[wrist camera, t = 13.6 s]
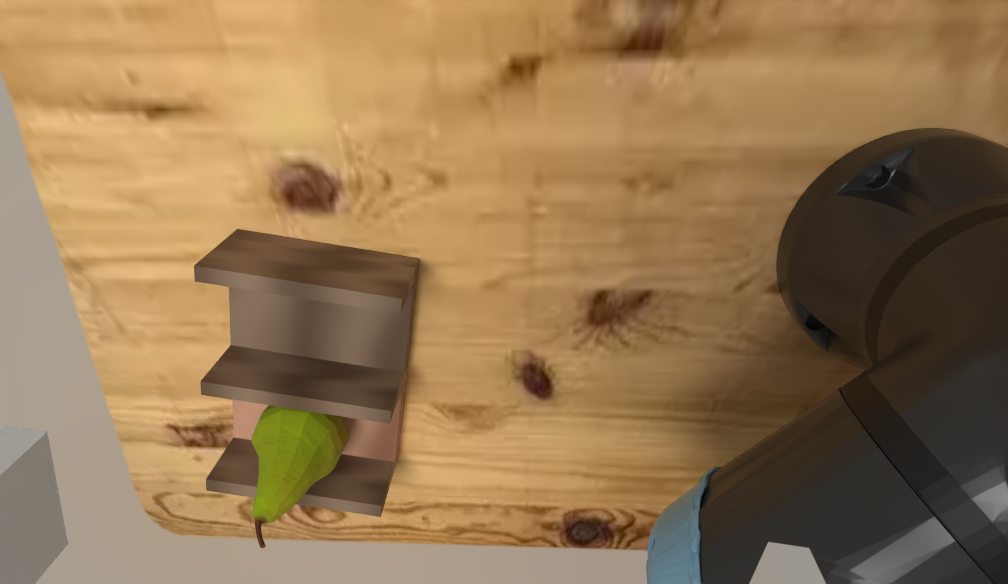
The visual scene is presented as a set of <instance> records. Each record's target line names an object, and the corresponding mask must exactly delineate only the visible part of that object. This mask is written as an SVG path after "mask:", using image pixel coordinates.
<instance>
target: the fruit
mask: <svg viewBox="0 0 1008 584" xmlns="http://www.w3.org/2000/svg"><path fill="white" fill-rule="evenodd" d="M348 440H349V433H348V430H347V428H346V425H345V422H344V420H343V417H342V416H336V415H329V414H323V413H317V412H310V411H304V410H297V409H291V408H284V407H278V406H271V405H268V406H267V407H266V409H265V410H264V411H263V412H262V414H261V416H260V419H259V421H258V423H257V426H256V428H255V430H254V433H253V436H252V443H253V446H254V448H255V450H256V452H257V455H258V457H259V476H258V483H257V489H256V496H255V500H254V505H253V515H254V520H255V528H256V534H257V538H258V542H259V545H260V547H261V548H264V547H265V543H264V541H263V538H262V534H261V524H264V523H271V522H273V521H275V520H277V519H278V518H279V517H280V516H282V515H283V514H284V513H286V512H287V511H288V510H290V509H291V508H292V507H293V506H294V505H295V504H296V503H297V502H298V501H299V500H300V499H301V498H302V496H303V495H304V494H305V493H306V492H307V491H308V489H309V488H310V487H311V486H312V485H313V484H314V483H315V482H316V481H318V480H320V479H321V478H323V477H325V476H326V475H328V474H329V473H330V472H331V471H332V470H333V469H334V468H335V466H336V464H337V462H338V460H339V458H340V456H341V454H342V452H343V450H344V448H345V446H346V444H347V442H348Z"/></svg>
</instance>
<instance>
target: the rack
mask: <svg viewBox="0 0 1008 584" xmlns="http://www.w3.org/2000/svg"><path fill="white" fill-rule="evenodd" d="M418 264H419V259H418V258H412V257H406V256H400V255H394V254H387V253H381V252H375V251H369V250H363V249H356V248H350V247H344V246H338V245H332V244H326V243H319V242H313V241H307V240H301V239H295V238H288V237H282V236H276V235H270V234H264V233H258V232H251V231H245V230H239V229H237V230H236V231H235V232H233V233H232V234H231V235H230V236H229V237H227V238H226V239H225V240H224V241H223V242H222V243H220V244H219V245H218V246H217V247H216V248H214V249H213V250H212V251H211V252H210V253H208V254H207V255H206V256H205V257H204V258H203V259H201V260H200V261H199V262H198V263H197V264H195V265H194V273H195V281H196V282H203V283H209V284H215V285H222V286H228V287H229V300H230V333H231V346H230V347H229V348H228V349H227V350H226V352H225V353H224V354H223V355H222V356H221V358H220V359H219V360H218V361H217V362H216V364H215V365H214V366H213V367H212V368H211V370H210V371H209V372H208V373H207V374H206V376H205V377H204V378H203V379H202V380H201V395H207V396H213V397H220V398H226V399H233V430H234V438H233V439H232V441H231V442H230V444H229V445H228V447H227V448H226V450H225V451H224V453H223V454H222V456H221V457H220V459H219V460H218V462H217V463H216V465H215V466H214V468H213V470H212V471H211V473H210V474H209V476H208V477H207V479H206V487H207V491H214V492H220V493H227V494H233V495H240V496H247V497H253V498H255V496H256V489H257V483H258V476H259V457H258V455H257V452H256V450H255V448H254V446H253V443H252V436H253V433H254V430H255V428H256V426H257V423H258V421H259V419H260V416H261V414H262V412H263V411H264V410H265V409H266V407H267V406H268V405H271V406H278V407H284V408H291V409H297V410H304V411H310V412H317V413H323V414H329V415H336V416H342V417H343V420H344V422H345V425H346V428H347V430H348V433H349V440H348V442H347V444H346V446H345V448H344V450H343V452H342V454H341V456H340V458H339V460H338V462H337V464H336V466H335V468H334V469H333V470H332V471H331V472H330V473H329V474H328V475H326V476H325V477H323V478H321V479H320V480H318V481H316V482H315V483H314V484H313V485H312V486H311V487H310V488H309V489H308V491H307V492H306V493H305V494H304V495H303V496H302V498H301V499H300V500H299V501H298V502H297V503H296V504H300V505H306V506H313V507H319V508H326V509H333V510H339V511H346V512H353V513H359V514H366V515H372V516H379V517H381V514H382V510H383V507H384V504H385V500H386V497H387V493H388V490H389V486H390V483H391V479H392V476H393V473H394V469H395V466H396V462H397V458H398V449H399V440H400V430H401V421H402V412H403V403H404V393H405V384H406V375H407V366H408V356H409V347H410V338H411V329H412V319H413V310H414V301H415V292H416V282H417V273H418Z"/></svg>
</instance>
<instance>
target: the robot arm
mask: <svg viewBox="0 0 1008 584" xmlns="http://www.w3.org/2000/svg"><path fill="white" fill-rule="evenodd" d="M777 278H778V284H779V288H780V292H781V295H782V298H783V300H784V302H785V304H786V306H787V308H788V310H789V312H790V313H791V315H792V316H793V317H794V319H795V320H796V321H797V323H798V324H799V325H800V327H801V328H802V329H803V330H804V332H805V333H806V334H807V335H808V336H809V337H810V338H811V339H812V340H813V341H814V342H815V343H816V344H817V345H818V346H820V347H821V348H822V349H824V350H825V351H826V352H828V353H830V354H831V355H833V356H835V357H837V358H839V359H841V360H843V361H845V362H847V363H850V364H852V365H854V366H856V367H858V368H860V369H863V370H865V372H864V373H862V374H861V375H859V376H858V377H856V378H855V379H853V380H852V381H850V382H849V383H847V384H846V385H844V386H843V387H841V388H839V389H837V390H836V391H835V392H833V393H832V394H830V395H829V396H827V397H826V398H825V399H823V400H822V401H820V402H819V403H817V404H816V405H815V406H813V407H812V408H810V409H809V410H807V411H806V412H804V413H803V414H801V415H800V416H798V417H797V418H795V419H794V420H792V421H791V422H789V423H788V424H786V425H785V426H783V427H782V428H780V429H779V430H777V431H776V432H774V433H772V434H771V435H769V436H768V437H766V438H765V439H763V440H762V441H760V442H759V443H757V444H756V445H754V446H753V447H751V448H750V449H748V450H747V451H745V452H744V453H742V454H741V455H739V456H738V457H736V458H735V459H733V460H732V461H730V462H729V463H727V464H726V465H724V466H723V467H714V468H713V469H711V470H709V471H708V472H706V473H705V474H704V476H703V477H702V478H701V480H700V482H699V484H697V485H696V486H695V487H693V488H692V489H691V490H689V491H688V492H687V493H685V494H684V495H683V496H681V497H680V498H679V499H677V500H676V501H675V502H673V503H672V504H671V505H669V506H668V507H667V508H666V509H665V510H664V511H663V512H662V513H661V514H660V515H659V517H658V518H657V520H656V522H655V523H654V525H653V527H652V530H651V533H650V537H649V543H648V547H647V549H648V560H647V564H646V568H647V569H646V570H647V571H646V572H647V583H648V584H1008V148H1006V147H1004V146H1002V145H999V144H997V143H994V142H992V141H989V140H986V139H984V138H981V137H978V136H976V135H973V134H969V133H966V132H962V131H958V130H951V129H940V128H926V129H915V130H909V131H904V132H899V133H895V134H892V135H888V136H885V137H882V138H880V139H877V140H874V141H872V142H870V143H868V144H865V145H863V146H861V147H859V148H858V149H856V150H854V151H852V152H851V153H849V154H847V155H846V156H844V157H843V158H841V159H840V160H838V161H837V162H836V163H834V164H833V165H832V166H831V167H829V168H828V169H827V170H826V171H825V172H824V173H822V174H821V175H820V176H819V177H818V178H817V179H816V180H815V181H814V182H813V184H812V185H811V186H810V187H809V188H808V189H807V190H806V192H805V193H804V194H803V196H802V197H801V198H800V200H799V201H798V203H797V204H796V206H795V208H794V209H793V211H792V213H791V215H790V217H789V219H788V221H787V223H786V225H785V228H784V230H783V233H782V236H781V240H780V244H779V249H778V255H777ZM67 544H68V541H67V536H66V531H65V525H64V520H63V514H62V509H61V504H60V498H59V493H58V488H57V482H56V477H55V472H54V467H53V461H52V455H51V450H50V445H49V439H48V434H47V432H45V431H38V430H32V429H24V428H19V427H12V426H5V425H3V426H2V427H1V428H0V584H35V583H36V582H37V580H38V579H39V578H40V577H41V576H42V574H43V573H44V572H45V571H46V570H47V568H48V567H49V566H50V565H51V564H52V562H53V561H54V560H55V559H56V558H57V556H58V555H59V554H60V553H61V552H62V550H63V549H64V548H65V547H66V545H67Z"/></svg>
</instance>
